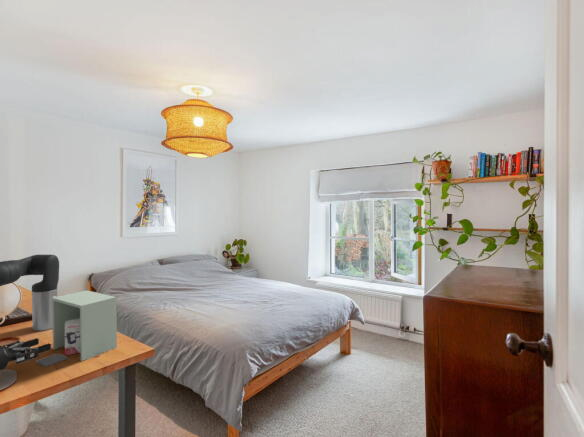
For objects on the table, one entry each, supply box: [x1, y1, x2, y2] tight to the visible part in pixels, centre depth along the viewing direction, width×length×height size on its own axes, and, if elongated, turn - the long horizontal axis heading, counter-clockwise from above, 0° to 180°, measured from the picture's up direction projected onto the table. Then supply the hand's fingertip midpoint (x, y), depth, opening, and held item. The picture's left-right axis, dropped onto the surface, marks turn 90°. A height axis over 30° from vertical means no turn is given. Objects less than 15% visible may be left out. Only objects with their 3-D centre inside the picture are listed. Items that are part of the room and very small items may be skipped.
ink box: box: [64, 319, 81, 356], centre depth 124 cm, size 8×5×12 cm, turn 123°
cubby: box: [52, 290, 118, 362], centre depth 126 cm, size 20×13×20 cm, turn 61°
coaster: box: [35, 352, 69, 368], centre depth 116 cm, size 7×7×1 cm
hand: (44, 343), depth 114 cm, fingers open, 8 cm apart
